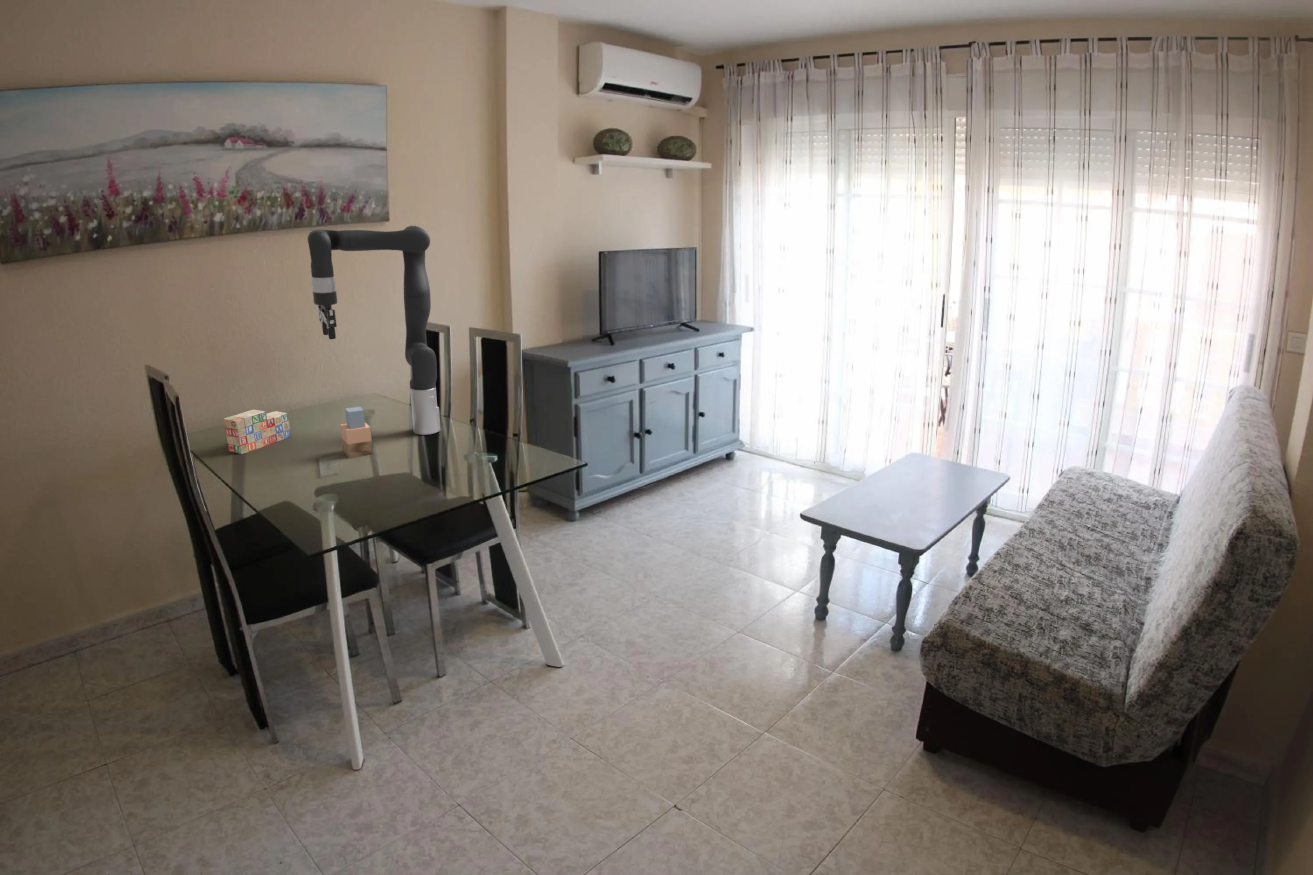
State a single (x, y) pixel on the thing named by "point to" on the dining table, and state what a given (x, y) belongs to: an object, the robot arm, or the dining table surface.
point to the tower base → (357, 449)
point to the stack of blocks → (255, 430)
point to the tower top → (355, 434)
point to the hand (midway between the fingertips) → (329, 336)
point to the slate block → (355, 417)
